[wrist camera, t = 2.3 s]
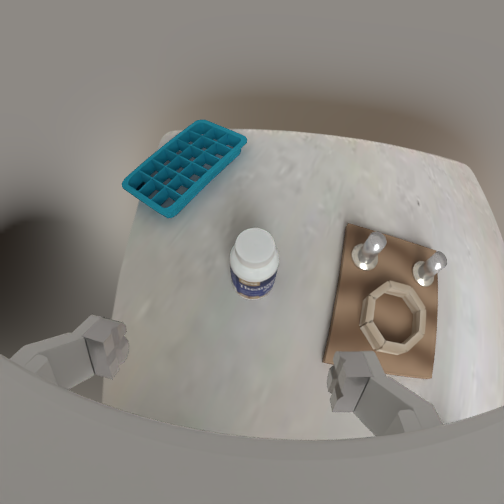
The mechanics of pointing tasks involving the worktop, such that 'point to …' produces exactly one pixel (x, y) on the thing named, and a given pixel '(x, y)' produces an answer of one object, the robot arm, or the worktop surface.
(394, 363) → the board
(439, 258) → the steel pins
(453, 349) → the worktop surface
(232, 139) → the ice cube tray
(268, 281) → the pill bottle
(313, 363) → the worktop surface
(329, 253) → the worktop surface
